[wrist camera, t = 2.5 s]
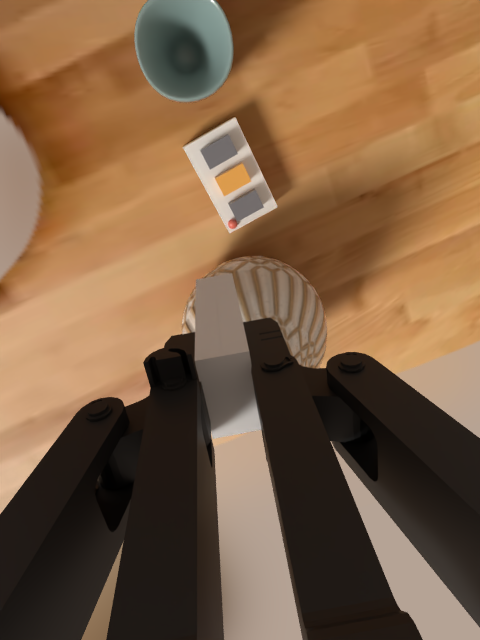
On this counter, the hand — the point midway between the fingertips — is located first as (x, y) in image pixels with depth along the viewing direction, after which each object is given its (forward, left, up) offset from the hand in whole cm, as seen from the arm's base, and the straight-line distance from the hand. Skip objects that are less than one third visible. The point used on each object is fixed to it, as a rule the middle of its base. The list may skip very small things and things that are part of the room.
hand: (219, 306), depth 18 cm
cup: (-12, +1, -33) cm, 35 cm away
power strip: (-1, +3, -33) cm, 34 cm away
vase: (+15, +2, -33) cm, 37 cm away
